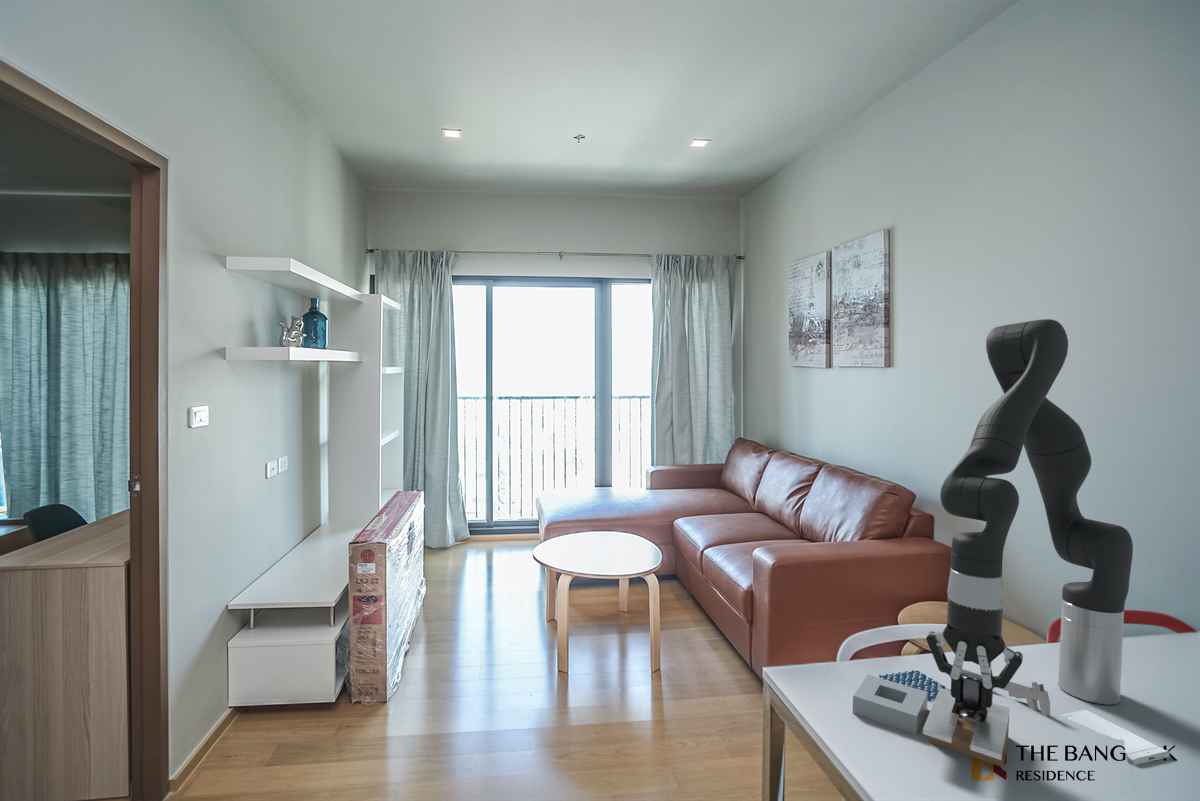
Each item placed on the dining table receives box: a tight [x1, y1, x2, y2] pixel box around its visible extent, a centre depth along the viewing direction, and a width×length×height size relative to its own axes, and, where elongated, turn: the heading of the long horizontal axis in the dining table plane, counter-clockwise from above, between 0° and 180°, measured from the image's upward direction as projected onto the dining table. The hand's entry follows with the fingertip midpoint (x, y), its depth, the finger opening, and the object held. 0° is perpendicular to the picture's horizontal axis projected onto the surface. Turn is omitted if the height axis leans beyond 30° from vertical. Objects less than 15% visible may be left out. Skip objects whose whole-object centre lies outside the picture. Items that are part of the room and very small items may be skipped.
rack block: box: [852, 674, 929, 735], centre depth 105 cm, size 10×10×4 cm
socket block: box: [928, 705, 1010, 768], centre depth 97 cm, size 10×10×5 cm
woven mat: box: [878, 669, 951, 703], centre depth 114 cm, size 10×11×2 cm
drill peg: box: [960, 673, 983, 723], centre depth 97 cm, size 3×3×10 cm
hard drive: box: [1059, 709, 1170, 766], centre depth 100 cm, size 2×8×12 cm
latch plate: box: [922, 688, 1010, 760], centre depth 95 cm, size 16×10×4 cm, turn 142°
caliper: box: [961, 667, 1051, 717], centre depth 114 cm, size 20×1×6 cm, turn 18°
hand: (970, 703), depth 97 cm, fingers closed on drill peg, 3 cm apart
